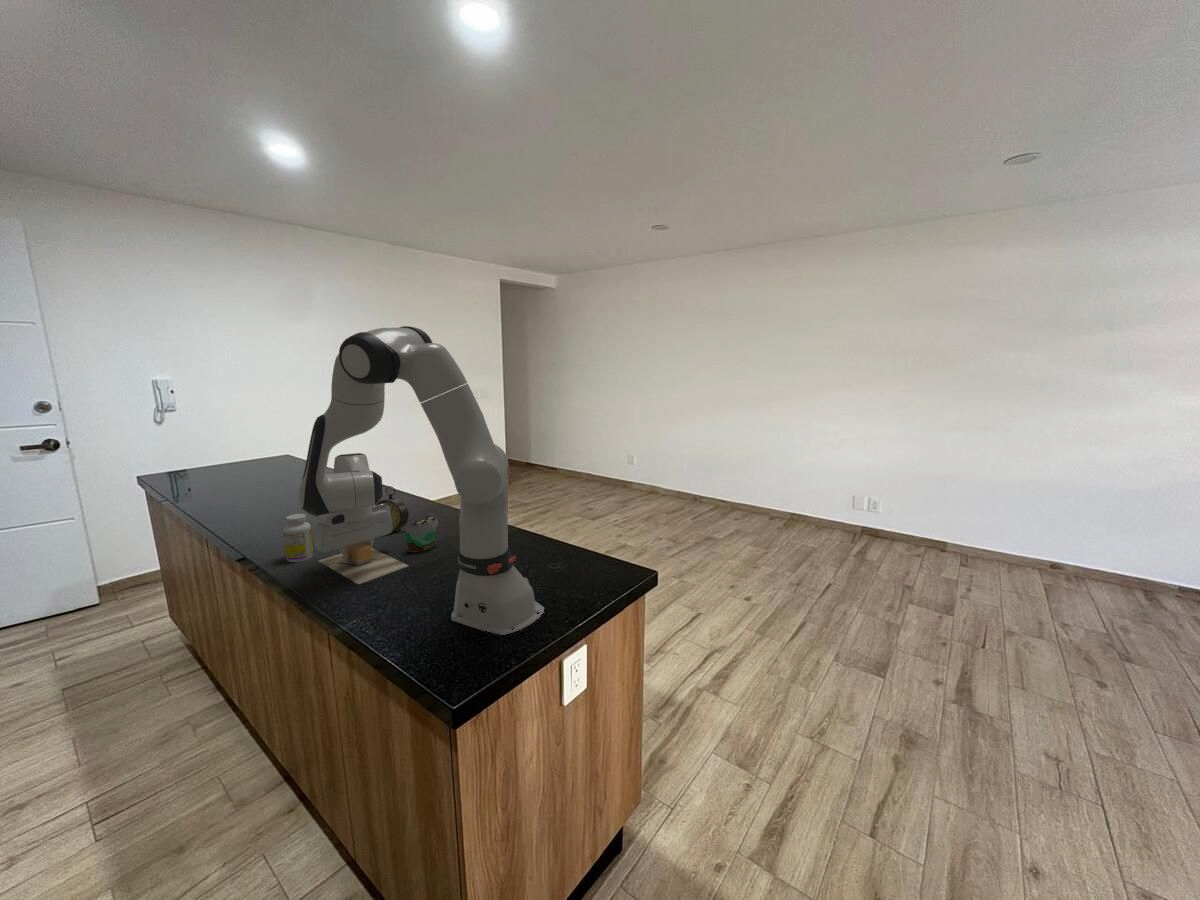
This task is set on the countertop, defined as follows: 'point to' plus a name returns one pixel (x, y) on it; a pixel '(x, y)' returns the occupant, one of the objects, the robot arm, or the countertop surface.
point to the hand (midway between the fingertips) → (357, 557)
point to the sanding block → (360, 553)
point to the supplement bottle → (298, 538)
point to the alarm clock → (396, 511)
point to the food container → (421, 534)
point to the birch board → (364, 567)
